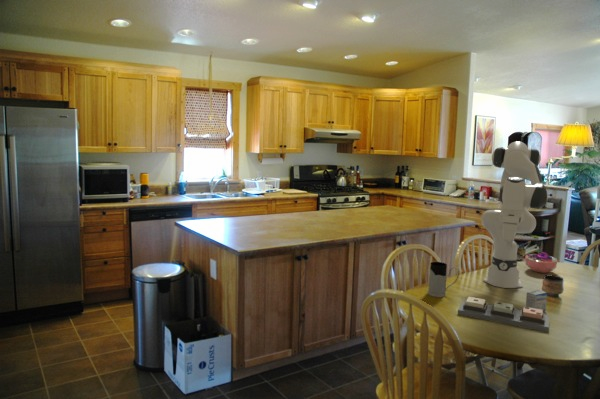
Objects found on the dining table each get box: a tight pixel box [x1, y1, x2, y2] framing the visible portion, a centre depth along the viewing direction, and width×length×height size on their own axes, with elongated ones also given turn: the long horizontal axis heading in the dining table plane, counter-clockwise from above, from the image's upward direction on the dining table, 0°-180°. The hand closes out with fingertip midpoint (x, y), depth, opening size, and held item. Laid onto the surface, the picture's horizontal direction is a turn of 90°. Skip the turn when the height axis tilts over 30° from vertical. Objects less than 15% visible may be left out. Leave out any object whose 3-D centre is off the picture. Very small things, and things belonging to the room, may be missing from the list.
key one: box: [466, 296, 486, 308], centre depth 193 cm, size 7×7×2 cm
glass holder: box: [427, 261, 460, 298], centre depth 215 cm, size 9×14×15 cm, turn 84°
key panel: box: [457, 298, 550, 333], centre depth 188 cm, size 14×34×4 cm, turn 61°
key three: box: [522, 306, 544, 319], centre depth 182 cm, size 7×7×2 cm
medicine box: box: [525, 289, 548, 313], centre depth 196 cm, size 8×4×9 cm, turn 117°
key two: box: [493, 300, 514, 314], centre depth 188 cm, size 7×7×2 cm
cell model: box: [524, 251, 558, 274], centre depth 259 cm, size 17×20×11 cm
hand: (509, 248), depth 188 cm, fingers open, 2 cm apart
